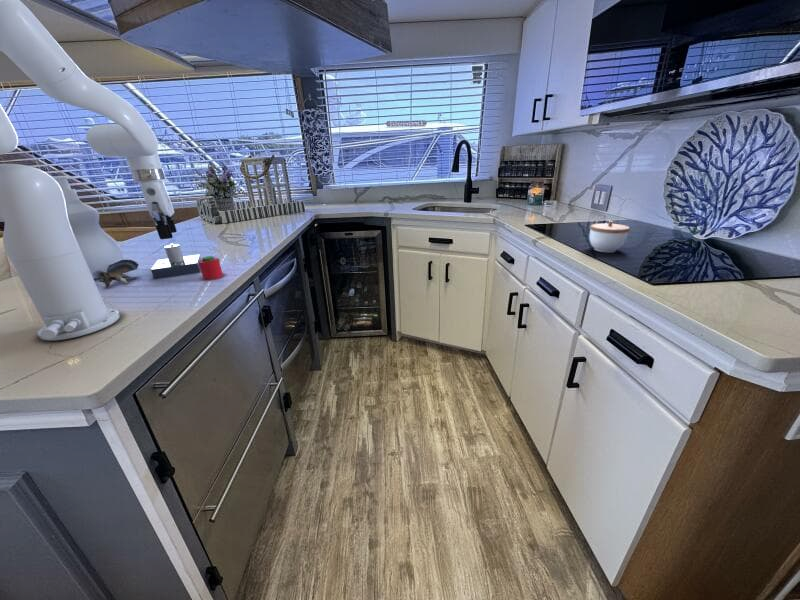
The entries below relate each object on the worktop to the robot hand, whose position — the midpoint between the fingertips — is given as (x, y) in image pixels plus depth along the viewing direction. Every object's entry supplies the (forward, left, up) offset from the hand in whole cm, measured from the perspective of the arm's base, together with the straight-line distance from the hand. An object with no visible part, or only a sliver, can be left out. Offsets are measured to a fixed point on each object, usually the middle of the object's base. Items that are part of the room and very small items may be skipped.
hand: (169, 235), depth 99 cm
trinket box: (-58, -126, -11) cm, 139 cm away
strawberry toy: (-14, -10, -11) cm, 21 cm away
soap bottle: (+9, +22, -11) cm, 26 cm away
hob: (0, 0, -11) cm, 11 cm away
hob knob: (0, 0, -8) cm, 8 cm away
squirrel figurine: (-5, +14, -11) cm, 19 cm away
